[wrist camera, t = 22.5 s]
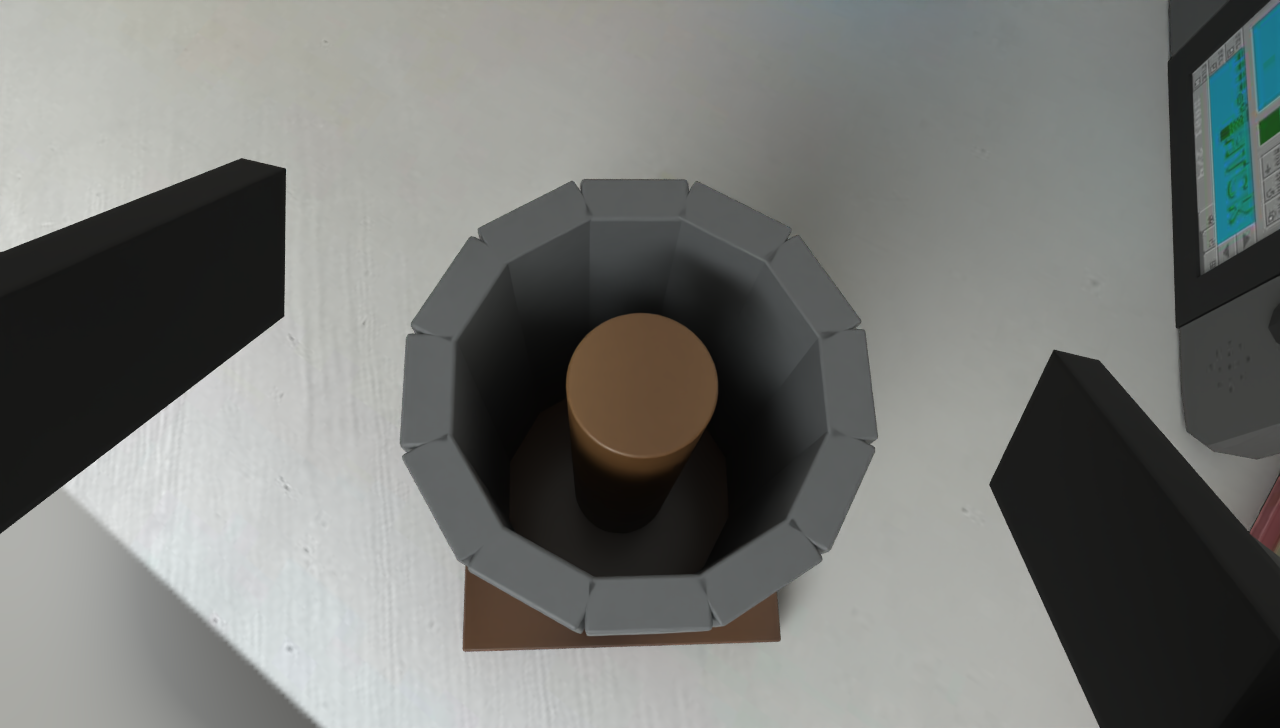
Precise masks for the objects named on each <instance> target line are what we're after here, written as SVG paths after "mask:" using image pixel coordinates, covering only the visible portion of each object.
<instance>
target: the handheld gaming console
mask: <svg viewBox="0 0 1280 728" xmlns="http://www.w3.org/2000/svg"><path fill="white" fill-rule="evenodd" d="M1170 36H1171V57H1172V59H1171V60H1170V61H1169V62H1168V83H1169V115H1170V148H1171V180H1172V213H1173V245H1174V278H1175V310H1176V328H1180V359H1181V389H1182V397H1183V406H1184V414H1185V422H1186V430H1187V432H1188V433H1190V434H1191V435H1192V436H1194V437H1195V438H1196V439H1198V440H1199V441H1200V442H1202V443H1203V444H1204V445H1206V446H1207V447H1208V448H1210V449H1211V450H1213V451H1214V452H1220V453H1225V454H1231V455H1236V456H1241V457H1247V458H1252V459H1260V458H1264V457H1267V456H1271V455H1275V454H1279V453H1280V0H1170Z"/></svg>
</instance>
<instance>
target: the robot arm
mask: <svg viewBox="0 0 1280 728" xmlns="http://www.w3.org/2000/svg"><path fill="white" fill-rule="evenodd" d="M285 205H286V169H285V168H281V167H277V166H273V165H268V164H264V163H260V162H256V161H251V160H247V159H243V158H241V159H239V160H236V161H233V162H231V163H228V164H226V165H223V166H221V167H218V168H216V169H213V170H210V171H208V172H205V173H203V174H200V175H198V176H195V177H193V178H190V179H187V180H185V181H182V182H180V183H177V184H175V185H172V186H170V187H167V188H164V189H162V190H159V191H157V192H154V193H152V194H149V195H147V196H144V197H141V198H139V199H136V200H134V201H131V202H129V203H126V204H124V205H121V206H118V207H116V208H113V209H111V210H108V211H106V212H103V213H101V214H98V215H95V216H93V217H90V218H88V219H85V220H83V221H80V222H78V223H75V224H73V225H70V226H67V227H65V228H62V229H60V230H57V231H55V232H52V233H50V234H47V235H44V236H42V237H39V238H37V239H34V240H32V241H29V242H27V243H24V244H21V245H19V246H16V247H14V248H11V249H9V250H6V251H3V252H0V534H1V533H2V532H3V531H4V530H6V529H7V528H8V527H10V526H11V525H12V524H14V523H15V522H16V521H17V520H19V519H20V518H21V517H23V516H24V515H25V514H27V513H28V512H29V511H30V510H32V509H33V508H34V507H36V506H37V505H38V504H40V503H41V502H42V501H44V500H45V499H46V498H47V497H49V496H50V495H51V494H53V493H54V492H55V491H57V490H58V489H59V488H61V487H62V486H63V485H65V484H66V483H67V482H68V481H70V480H71V479H72V478H74V477H75V476H76V475H78V474H79V473H80V472H82V471H83V470H84V469H85V468H87V467H88V466H89V465H91V464H92V463H93V462H95V461H96V460H97V459H98V458H100V457H101V456H102V455H104V454H105V453H106V452H108V451H109V450H110V449H112V448H113V447H114V446H115V445H117V444H118V443H119V442H121V441H122V440H123V439H125V438H126V437H127V436H129V435H130V434H131V433H132V432H134V431H135V430H136V429H138V428H139V427H140V426H142V425H143V424H144V423H145V422H147V421H148V420H149V419H151V418H152V417H153V416H155V415H156V414H157V413H159V412H160V411H161V410H162V409H164V408H165V407H166V406H168V405H169V404H170V403H172V402H173V401H174V400H176V399H177V398H178V397H179V396H181V395H182V394H183V393H185V392H186V391H187V390H189V389H190V388H191V387H192V386H194V385H195V384H196V383H198V382H199V381H200V380H202V379H203V378H204V377H206V376H207V375H208V374H209V373H211V372H212V371H213V370H215V369H216V368H217V367H219V366H220V365H221V364H223V363H224V362H225V361H226V360H228V359H229V358H230V357H232V356H233V355H234V354H236V353H237V352H238V351H239V350H241V349H242V348H243V347H245V346H246V345H247V344H249V343H250V342H251V341H253V340H254V339H255V338H256V337H258V336H259V335H260V334H262V333H263V332H264V331H266V330H267V329H268V328H269V327H271V326H272V325H273V324H275V323H276V322H277V321H279V320H280V319H281V318H283V317H284V295H285ZM989 485H990V487H991V490H992V492H993V494H994V496H995V498H996V501H997V503H998V505H999V507H1000V509H1001V512H1002V514H1003V516H1004V518H1005V520H1006V523H1007V525H1008V527H1009V529H1010V531H1011V534H1012V536H1013V538H1014V540H1015V542H1016V545H1017V547H1018V549H1019V551H1020V553H1021V556H1022V558H1023V560H1024V562H1025V564H1026V567H1027V569H1028V571H1029V573H1030V575H1031V578H1032V580H1033V582H1034V584H1035V586H1036V589H1037V591H1038V593H1039V595H1040V597H1041V600H1042V602H1043V604H1044V606H1045V608H1046V611H1047V613H1048V615H1049V617H1050V619H1051V622H1052V624H1053V626H1054V628H1055V630H1056V632H1057V635H1058V637H1059V639H1060V641H1061V643H1062V646H1063V648H1064V650H1065V652H1066V654H1067V657H1068V659H1069V661H1070V663H1071V665H1072V668H1073V670H1074V672H1075V674H1076V676H1077V679H1078V681H1079V683H1080V685H1081V687H1082V690H1083V692H1084V694H1085V696H1086V698H1087V701H1088V703H1089V705H1090V707H1091V709H1092V712H1093V714H1094V716H1095V718H1096V720H1097V723H1098V725H1099V727H1100V728H1280V557H1279V556H1278V555H1277V554H1275V553H1274V552H1273V551H1271V550H1270V549H1269V548H1268V547H1266V546H1265V545H1264V544H1262V543H1261V542H1260V541H1258V540H1257V539H1256V538H1254V537H1253V536H1252V535H1251V534H1250V533H1249V532H1248V531H1247V530H1246V529H1245V527H1244V526H1243V525H1242V524H1241V523H1240V522H1239V520H1238V519H1237V518H1236V517H1235V516H1234V515H1233V514H1232V512H1231V511H1230V510H1229V509H1228V508H1227V507H1226V506H1225V504H1224V503H1223V502H1222V501H1221V500H1220V499H1219V497H1218V496H1217V495H1216V494H1215V493H1214V492H1213V491H1212V489H1211V488H1210V487H1209V486H1208V485H1207V484H1206V483H1205V481H1204V480H1203V479H1202V478H1201V477H1200V476H1199V475H1198V473H1197V472H1196V471H1195V470H1194V469H1193V468H1192V466H1191V465H1190V464H1189V463H1188V462H1187V461H1186V460H1185V458H1184V457H1183V456H1182V455H1181V454H1180V453H1179V452H1178V450H1177V449H1176V448H1175V447H1174V446H1173V445H1172V443H1171V442H1170V441H1169V440H1168V439H1167V438H1166V437H1165V435H1164V434H1163V433H1162V432H1161V431H1160V430H1159V429H1158V427H1157V426H1156V425H1155V424H1154V423H1153V422H1152V421H1151V419H1150V418H1149V417H1148V416H1147V415H1146V414H1145V412H1144V411H1143V410H1142V409H1141V408H1140V407H1139V406H1138V404H1137V403H1136V402H1135V401H1134V400H1133V399H1132V398H1131V396H1130V395H1129V394H1128V393H1127V392H1126V391H1125V389H1124V388H1123V387H1122V386H1121V385H1120V384H1119V383H1118V381H1117V380H1116V379H1115V378H1114V377H1113V376H1112V375H1111V373H1110V372H1109V371H1108V370H1107V369H1106V368H1105V367H1104V365H1103V364H1102V363H1101V362H1100V361H1099V360H1095V359H1091V358H1087V357H1083V356H1078V355H1074V354H1070V353H1066V352H1061V351H1057V350H1053V352H1052V354H1051V356H1050V358H1049V361H1048V363H1047V365H1046V367H1045V369H1044V371H1043V373H1042V375H1041V377H1040V379H1039V381H1038V384H1037V386H1036V388H1035V390H1034V392H1033V394H1032V396H1031V398H1030V400H1029V402H1028V404H1027V406H1026V409H1025V411H1024V413H1023V415H1022V417H1021V419H1020V421H1019V423H1018V425H1017V427H1016V429H1015V432H1014V434H1013V436H1012V438H1011V440H1010V442H1009V444H1008V446H1007V448H1006V450H1005V452H1004V455H1003V457H1002V459H1001V461H1000V463H999V465H998V467H997V469H996V471H995V473H994V475H993V477H992V480H991V482H990V484H989Z"/></svg>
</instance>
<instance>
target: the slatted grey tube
mask: <svg viewBox="0 0 1280 728" xmlns="http://www.w3.org/2000/svg"><path fill="white" fill-rule="evenodd" d="M790 233H791V228H790V227H788V226H786V225H784V224H782V223H780V222H778V221H776V220H774V219H772V218H770V217H768V216H766V215H764V214H762V213H760V212H758V211H756V210H754V209H752V208H750V207H748V206H746V205H744V204H742V203H740V202H738V201H736V200H734V199H732V198H730V197H728V196H726V195H724V194H722V193H720V192H718V191H716V190H714V189H712V188H710V187H708V186H706V185H704V184H702V183H700V182H698V181H696V182H695V183H694V184H693V186H692V188H691V189H690V191H689V186H688V182H687V180H675V179H584V180H582V182H581V191H580V190H579V188H578V187H577V185H576V184H575V182H574V181H570V182H568V183H566V184H564V185H563V186H561V187H559V188H557V189H555V190H553V191H551V192H549V193H547V194H545V195H543V196H541V197H539V198H537V199H535V200H533V201H531V202H529V203H527V204H525V205H523V206H521V207H519V208H517V209H515V210H513V211H511V212H509V213H507V214H505V215H503V216H501V217H499V218H497V219H495V220H493V221H491V222H489V223H487V224H485V225H483V226H482V227H480V228H478V234H479V238H480V240H479V239H477V238H476V237H472V236H471V237H470V238H469V239H468V240H467V242H466V243H465V245H464V246H463V247H462V249H461V250H460V252H459V253H458V255H457V256H456V258H455V259H454V261H453V262H452V264H451V265H450V267H449V268H448V269H447V271H446V272H445V274H444V275H443V277H442V278H441V280H440V281H439V283H438V284H437V286H436V287H435V289H434V290H433V291H432V293H431V294H430V296H429V297H428V299H427V300H426V302H425V303H424V305H423V306H422V308H421V309H420V311H419V312H418V314H417V315H416V316H415V318H414V319H413V321H412V322H411V327H412V329H413V330H414V332H415V334H408V335H407V337H406V347H405V364H404V381H403V398H402V414H401V431H400V445H401V447H402V448H403V449H404V450H405V451H406V452H407V453H405V454H404V455H403V456H402V459H403V461H404V463H405V465H406V466H407V468H408V470H409V472H410V474H411V476H412V477H413V479H414V481H415V483H416V485H417V487H418V488H419V490H420V492H421V494H422V496H423V498H424V499H425V501H426V503H427V505H428V507H429V509H430V511H431V512H432V514H433V516H434V518H435V520H436V522H437V523H438V525H439V527H440V529H441V531H442V533H443V534H444V536H445V538H446V540H447V542H448V544H449V546H450V547H451V549H452V551H453V553H454V555H455V557H456V558H457V560H458V561H459V562H461V563H463V564H464V565H466V566H468V570H469V571H470V572H471V573H472V574H474V575H476V576H478V577H479V578H481V579H483V580H485V581H486V582H488V583H490V584H492V585H493V586H495V587H497V588H499V589H500V590H502V591H504V592H506V593H507V594H509V595H511V596H513V597H514V598H516V599H518V600H520V601H521V602H523V603H525V604H527V605H528V606H530V607H532V608H534V609H535V610H537V611H539V612H541V613H542V614H544V615H546V616H548V617H550V618H551V619H553V620H555V621H557V622H558V623H560V624H562V625H564V626H565V627H567V628H569V629H571V630H572V631H575V632H577V633H580V634H581V633H582V632H583V631H584V629H585V632H586V634H587V636H608V635H639V634H664V633H682V632H699V631H709V630H711V629H712V627H721V626H725V625H727V624H728V623H730V622H731V621H733V620H734V619H736V618H737V617H739V616H740V615H742V614H743V613H745V612H746V611H748V610H749V609H751V608H752V607H754V606H755V605H757V604H758V603H760V602H761V601H763V600H764V599H766V598H767V597H769V596H770V595H772V594H773V593H775V592H776V591H778V590H779V589H781V588H782V587H784V586H786V585H787V584H789V583H790V582H792V581H793V580H795V579H796V578H798V577H799V576H801V575H802V574H804V573H805V572H807V571H808V570H810V569H811V568H813V567H814V566H816V565H817V564H819V563H820V562H821V561H822V556H821V554H823V553H826V552H829V551H830V550H831V548H832V546H833V544H834V541H835V539H836V537H837V535H838V533H839V530H840V528H841V526H842V524H843V521H844V519H845V517H846V515H847V513H848V510H849V508H850V506H851V504H852V502H853V499H854V497H855V495H856V493H857V490H858V488H859V486H860V484H861V482H862V479H863V477H864V475H865V473H866V471H867V468H868V466H869V464H870V462H871V459H872V457H873V455H874V453H875V447H873V446H872V445H870V444H871V443H872V442H873V441H875V440H876V439H877V438H878V433H877V425H876V416H875V408H874V400H873V392H872V383H871V375H870V367H869V359H868V350H867V342H866V334H865V330H863V329H856V327H857V326H858V325H859V324H860V323H861V320H860V318H859V317H858V316H857V314H856V313H855V311H854V310H853V309H852V307H851V306H850V305H849V303H848V302H847V300H846V299H845V298H844V296H843V295H842V294H841V292H840V291H839V289H838V288H837V287H836V285H835V284H834V283H833V281H832V280H831V278H830V277H829V276H828V274H827V273H826V272H825V270H824V269H823V268H822V266H821V265H820V263H819V262H818V261H817V259H816V258H815V257H814V255H813V254H812V252H811V251H810V250H809V248H808V247H807V246H806V244H805V243H804V241H803V240H802V239H801V237H800V236H799V235H796V236H794V237H792V238H790V239H788V237H789V235H790ZM787 239H788V240H787ZM630 313H651V314H657V315H661V316H664V317H668V318H670V319H672V320H675V321H677V322H679V323H680V324H682V325H684V326H685V327H687V328H688V329H689V330H691V331H692V332H693V333H694V334H695V335H696V336H697V337H698V338H699V339H700V340H701V341H702V343H703V344H704V345H705V346H706V348H707V350H708V351H709V353H710V355H711V357H712V359H713V362H714V364H715V368H716V371H717V377H718V398H717V403H716V407H715V410H714V413H713V415H712V418H711V420H710V422H709V423H708V425H707V427H706V428H707V430H708V431H709V433H710V435H711V436H712V438H713V439H714V441H715V442H716V444H717V445H718V447H719V448H720V450H721V451H722V453H723V455H724V456H725V458H726V470H727V486H728V501H729V518H728V520H727V522H726V524H725V526H724V528H723V530H722V532H721V534H720V536H719V538H718V540H717V542H716V544H715V546H714V548H713V550H712V552H711V554H710V556H709V558H708V560H707V562H706V564H705V566H704V568H703V569H701V570H700V571H698V572H697V573H695V574H681V575H645V576H608V577H594V576H592V575H590V574H588V573H587V572H585V571H583V570H581V569H580V568H578V567H576V566H574V565H572V564H571V563H569V562H567V561H565V560H564V559H562V558H560V557H558V556H556V555H555V554H553V553H551V552H549V551H548V550H546V549H544V548H542V547H540V546H539V545H537V544H535V543H533V542H531V541H530V540H528V539H526V538H524V537H523V536H521V535H519V534H517V533H516V532H515V530H514V528H513V527H512V525H511V523H510V521H509V497H510V461H511V459H512V458H513V456H514V454H515V453H516V451H517V449H518V448H519V446H520V444H521V443H522V441H523V439H524V438H525V436H526V434H527V433H528V431H529V429H530V428H531V426H532V424H533V423H534V421H535V420H536V418H537V416H538V415H539V413H540V412H542V411H544V410H545V409H547V408H549V407H551V406H552V405H554V404H556V403H558V402H559V401H561V400H563V399H565V398H566V397H567V394H566V375H567V370H568V366H569V363H570V360H571V357H572V355H573V353H574V351H575V349H576V348H577V346H578V345H579V343H580V342H581V340H582V339H583V338H584V337H585V336H586V335H587V334H588V333H589V332H590V331H592V330H593V329H594V328H595V327H597V326H598V325H600V324H601V323H603V322H605V321H607V320H609V319H611V318H614V317H617V316H620V315H625V314H630Z"/></svg>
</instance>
